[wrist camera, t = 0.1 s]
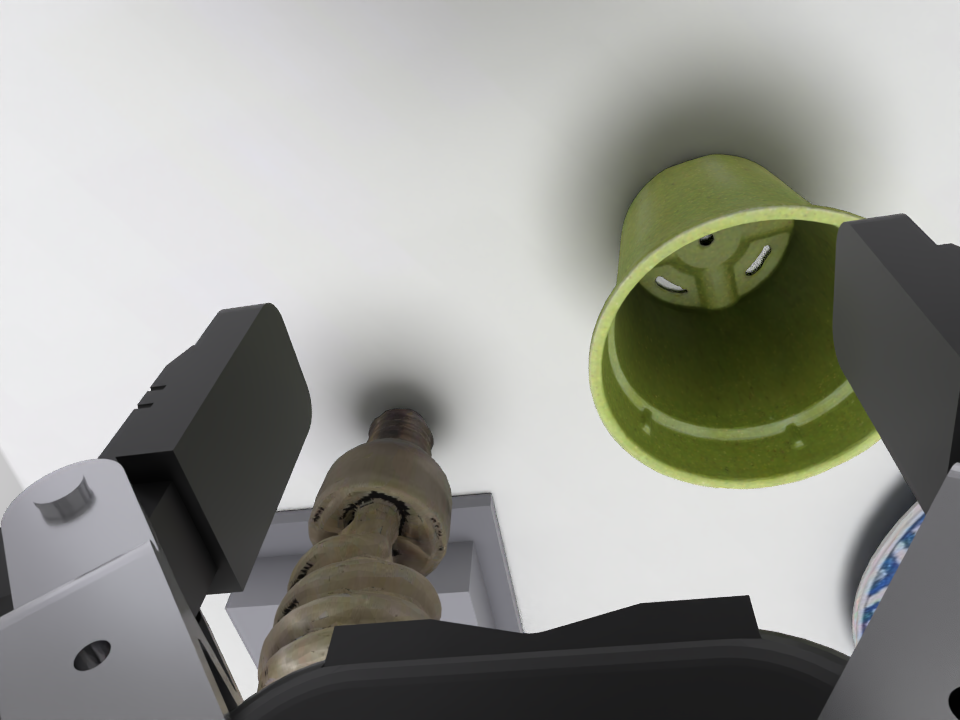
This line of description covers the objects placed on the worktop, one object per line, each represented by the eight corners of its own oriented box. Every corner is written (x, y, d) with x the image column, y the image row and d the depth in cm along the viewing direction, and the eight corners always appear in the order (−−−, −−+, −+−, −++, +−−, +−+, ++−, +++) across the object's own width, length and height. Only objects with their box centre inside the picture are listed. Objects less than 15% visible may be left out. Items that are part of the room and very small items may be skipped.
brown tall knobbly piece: (330, 366, 34) (209, 688, 21) (458, 359, 33) (410, 685, 21) (356, 467, 37) (264, 797, 24) (474, 461, 36) (441, 797, 24)
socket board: (211, 517, 39) (183, 578, 36) (491, 493, 37) (487, 555, 34) (306, 706, 48) (290, 768, 45) (537, 695, 46) (537, 759, 43)
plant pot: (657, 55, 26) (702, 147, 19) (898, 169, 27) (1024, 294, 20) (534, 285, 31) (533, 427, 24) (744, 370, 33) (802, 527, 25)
